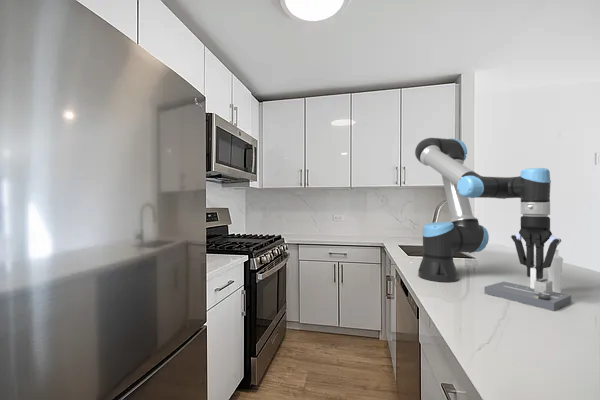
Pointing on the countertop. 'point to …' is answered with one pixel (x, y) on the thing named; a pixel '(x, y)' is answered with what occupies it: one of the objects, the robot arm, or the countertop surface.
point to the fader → (543, 286)
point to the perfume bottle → (555, 272)
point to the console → (528, 295)
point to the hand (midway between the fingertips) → (534, 287)
